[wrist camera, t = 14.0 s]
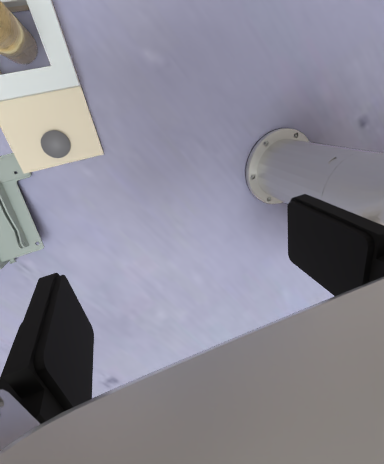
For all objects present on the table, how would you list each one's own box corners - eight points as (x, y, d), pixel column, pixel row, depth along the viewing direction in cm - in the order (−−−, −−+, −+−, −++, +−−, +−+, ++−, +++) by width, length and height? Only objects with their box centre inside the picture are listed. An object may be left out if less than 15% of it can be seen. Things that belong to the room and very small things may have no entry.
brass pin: (28, 22, 28) (-15, -29, 18) (43, 61, 30) (12, 34, 20) (-8, 27, 28) (-73, -23, 17) (9, 67, 29) (-41, 42, 19)
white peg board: (-123, -132, 22) (-162, -175, 19) (5, -136, 24) (-10, -176, 20) (26, 171, 34) (18, 177, 31) (103, 152, 36) (103, 157, 32)
